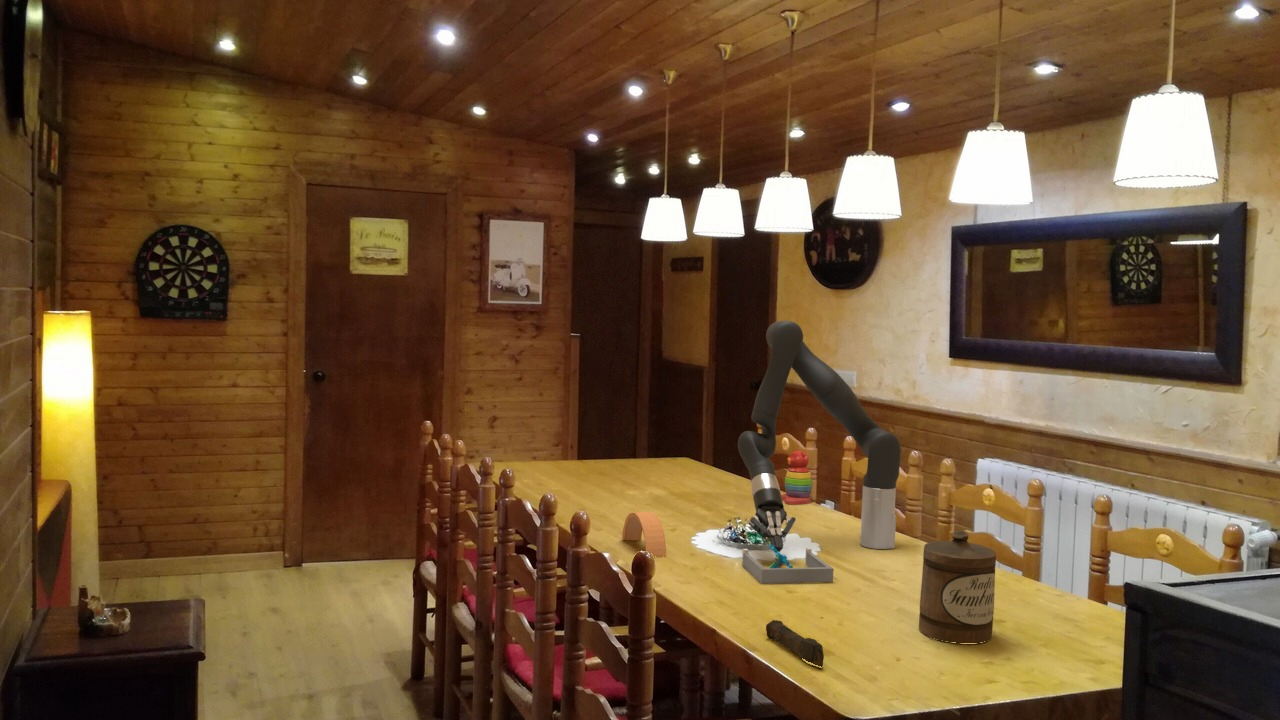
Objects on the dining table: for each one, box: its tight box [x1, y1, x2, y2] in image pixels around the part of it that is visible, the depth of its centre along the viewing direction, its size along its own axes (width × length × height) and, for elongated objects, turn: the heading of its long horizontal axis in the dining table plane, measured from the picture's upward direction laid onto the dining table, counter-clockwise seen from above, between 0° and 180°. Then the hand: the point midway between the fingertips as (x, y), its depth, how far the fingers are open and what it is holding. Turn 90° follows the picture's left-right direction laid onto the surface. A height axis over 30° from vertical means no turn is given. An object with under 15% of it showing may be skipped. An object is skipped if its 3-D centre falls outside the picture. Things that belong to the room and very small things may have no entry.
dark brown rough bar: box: [765, 619, 825, 668], centre depth 196 cm, size 19×4×5 cm, turn 19°
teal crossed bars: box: [768, 543, 794, 568], centre depth 253 cm, size 11×6×10 cm
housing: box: [741, 547, 834, 585], centre depth 253 cm, size 17×18×4 cm
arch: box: [621, 511, 667, 559], centre depth 274 cm, size 6×20×10 cm, turn 19°
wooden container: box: [918, 529, 997, 643], centre depth 210 cm, size 15×15×22 cm
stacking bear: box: [781, 449, 813, 506], centre depth 346 cm, size 11×10×18 cm
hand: (778, 550), depth 258 cm, fingers closed
